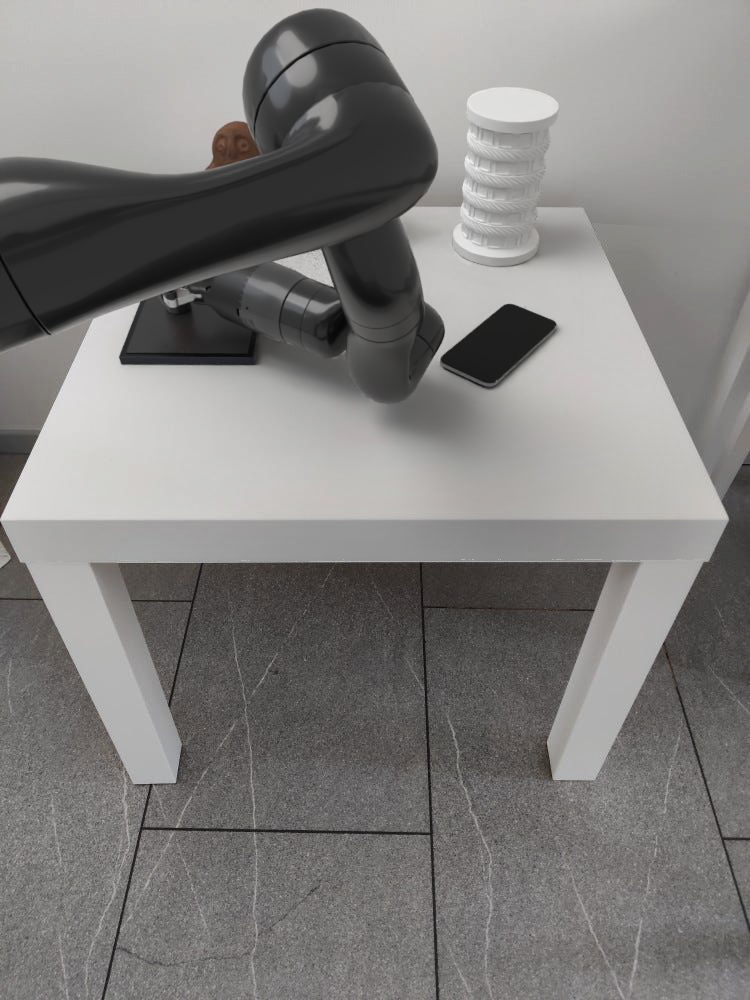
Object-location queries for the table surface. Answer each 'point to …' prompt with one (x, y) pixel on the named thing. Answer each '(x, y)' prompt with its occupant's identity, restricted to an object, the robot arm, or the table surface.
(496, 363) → the smartphone
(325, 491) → the table surface
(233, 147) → the figurine
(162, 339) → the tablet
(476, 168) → the decorative container
